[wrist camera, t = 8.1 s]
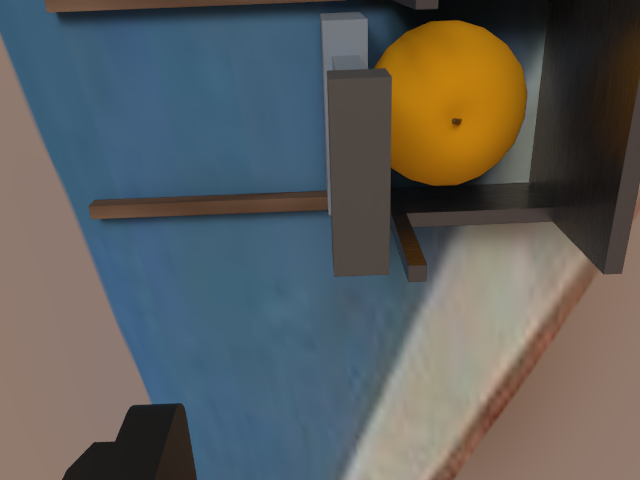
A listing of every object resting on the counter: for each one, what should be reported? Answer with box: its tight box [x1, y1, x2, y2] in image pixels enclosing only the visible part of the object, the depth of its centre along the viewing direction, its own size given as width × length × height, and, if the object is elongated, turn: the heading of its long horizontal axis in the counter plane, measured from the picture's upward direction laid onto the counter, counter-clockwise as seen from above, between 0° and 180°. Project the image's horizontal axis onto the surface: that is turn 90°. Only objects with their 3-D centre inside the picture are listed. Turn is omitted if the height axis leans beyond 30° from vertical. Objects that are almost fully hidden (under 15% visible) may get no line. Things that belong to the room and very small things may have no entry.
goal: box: [390, 0, 640, 282], centre depth 28 cm, size 12×9×10 cm
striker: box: [320, 12, 392, 277], centre depth 26 cm, size 9×2×14 cm, turn 2°
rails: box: [45, 0, 344, 219], centre depth 32 cm, size 12×17×1 cm
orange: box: [373, 20, 527, 186], centre depth 29 cm, size 8×8×8 cm
